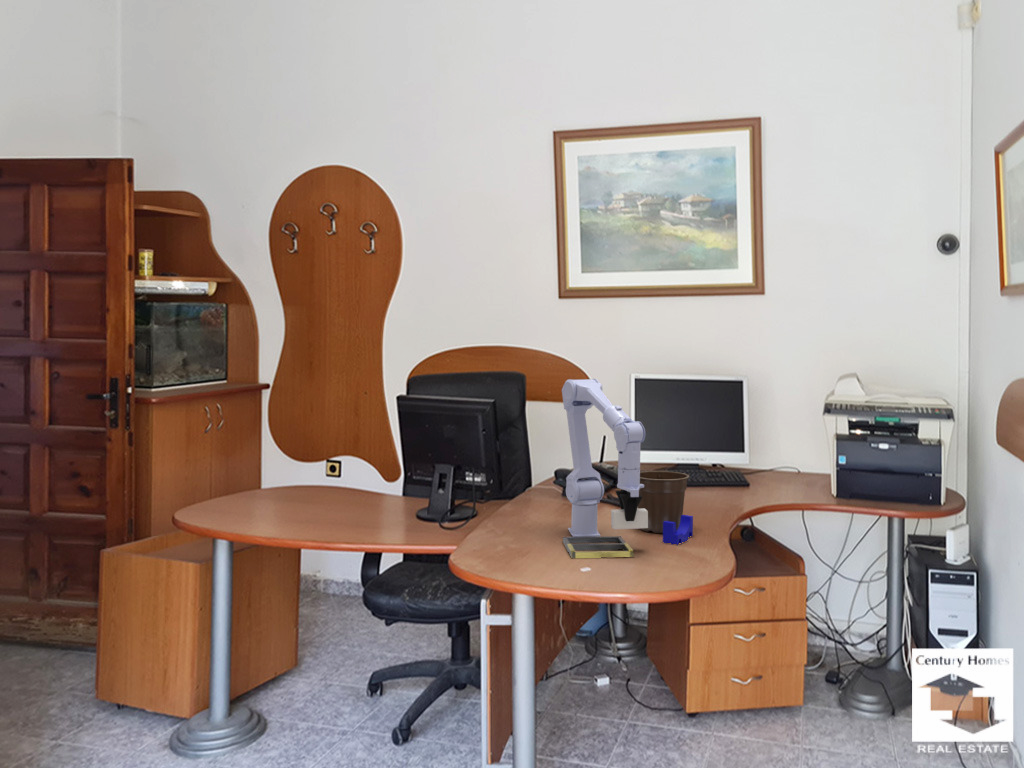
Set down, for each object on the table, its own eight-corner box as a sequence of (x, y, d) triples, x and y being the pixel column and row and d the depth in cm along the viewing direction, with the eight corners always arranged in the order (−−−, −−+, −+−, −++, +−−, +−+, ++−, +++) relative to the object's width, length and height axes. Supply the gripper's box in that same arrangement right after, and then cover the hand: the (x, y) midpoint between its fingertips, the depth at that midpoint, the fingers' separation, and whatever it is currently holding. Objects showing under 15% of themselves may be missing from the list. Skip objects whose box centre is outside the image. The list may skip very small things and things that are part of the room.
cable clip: (677, 546, 239) (678, 524, 239) (662, 543, 242) (663, 521, 242) (697, 537, 249) (697, 516, 249) (682, 535, 252) (683, 514, 251)
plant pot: (622, 525, 264) (623, 471, 263) (670, 521, 269) (671, 469, 268) (647, 537, 248) (648, 480, 247) (698, 533, 253) (699, 477, 252)
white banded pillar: (611, 526, 234) (611, 509, 234) (644, 525, 235) (644, 507, 235) (614, 529, 231) (613, 511, 230) (648, 528, 231) (647, 510, 231)
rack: (562, 542, 242) (562, 535, 242) (620, 541, 243) (620, 535, 243) (571, 558, 225) (571, 551, 225) (633, 557, 226) (633, 550, 226)
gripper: (650, 472, 225) (649, 525, 226) (637, 463, 239) (636, 513, 240) (623, 472, 224) (622, 525, 225) (611, 463, 239) (611, 513, 240)
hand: (628, 519), depth 233 cm, fingers closed on white banded pillar, 3 cm apart
